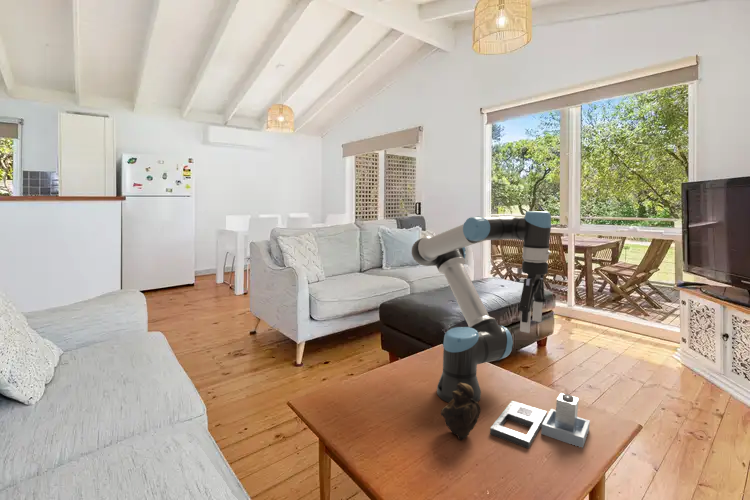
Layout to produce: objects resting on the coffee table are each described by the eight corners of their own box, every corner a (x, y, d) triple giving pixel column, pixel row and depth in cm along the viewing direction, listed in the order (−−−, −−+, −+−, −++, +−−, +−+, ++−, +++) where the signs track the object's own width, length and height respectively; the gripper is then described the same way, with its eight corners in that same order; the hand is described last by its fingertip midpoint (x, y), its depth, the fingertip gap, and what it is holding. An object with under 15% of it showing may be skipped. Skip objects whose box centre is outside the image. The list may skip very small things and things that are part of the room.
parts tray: (541, 433, 115) (541, 424, 114) (550, 417, 123) (550, 408, 123) (582, 448, 108) (583, 438, 108) (589, 430, 117) (589, 420, 116)
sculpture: (428, 420, 115) (450, 374, 116) (454, 431, 119) (475, 386, 120) (448, 440, 105) (472, 389, 106) (476, 450, 109) (498, 401, 111)
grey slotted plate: (490, 434, 114) (490, 427, 114) (511, 406, 130) (512, 400, 130) (528, 448, 108) (528, 441, 107) (546, 417, 124) (546, 411, 123)
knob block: (554, 431, 115) (556, 397, 114) (558, 423, 119) (560, 391, 118) (572, 437, 112) (575, 403, 111) (576, 429, 116) (578, 396, 115)
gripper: (537, 267, 109) (532, 339, 112) (557, 257, 129) (552, 319, 131) (510, 264, 113) (506, 334, 116) (533, 255, 133) (529, 315, 136)
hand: (531, 326), depth 124 cm, fingers open, 13 cm apart
